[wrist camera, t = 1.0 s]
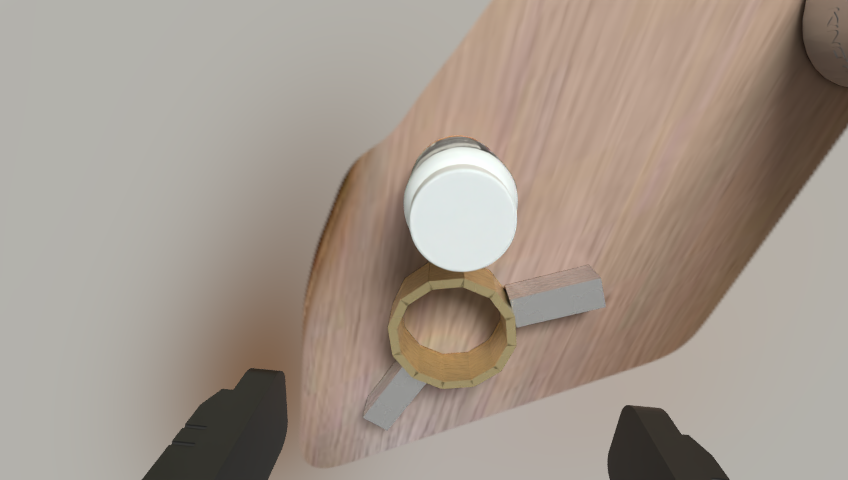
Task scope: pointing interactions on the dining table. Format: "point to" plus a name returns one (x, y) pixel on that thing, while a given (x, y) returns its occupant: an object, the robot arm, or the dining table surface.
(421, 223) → the pill bottle
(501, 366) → the stand
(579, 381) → the dining table surface
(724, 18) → the dining table surface
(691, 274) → the dining table surface
